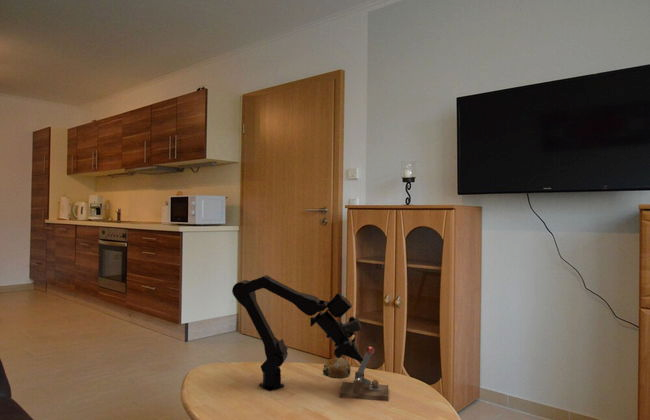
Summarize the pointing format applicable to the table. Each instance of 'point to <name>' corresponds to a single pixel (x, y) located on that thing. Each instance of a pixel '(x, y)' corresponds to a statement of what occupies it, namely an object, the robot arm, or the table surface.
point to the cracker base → (364, 390)
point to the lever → (364, 366)
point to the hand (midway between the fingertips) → (362, 360)
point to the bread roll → (337, 368)
